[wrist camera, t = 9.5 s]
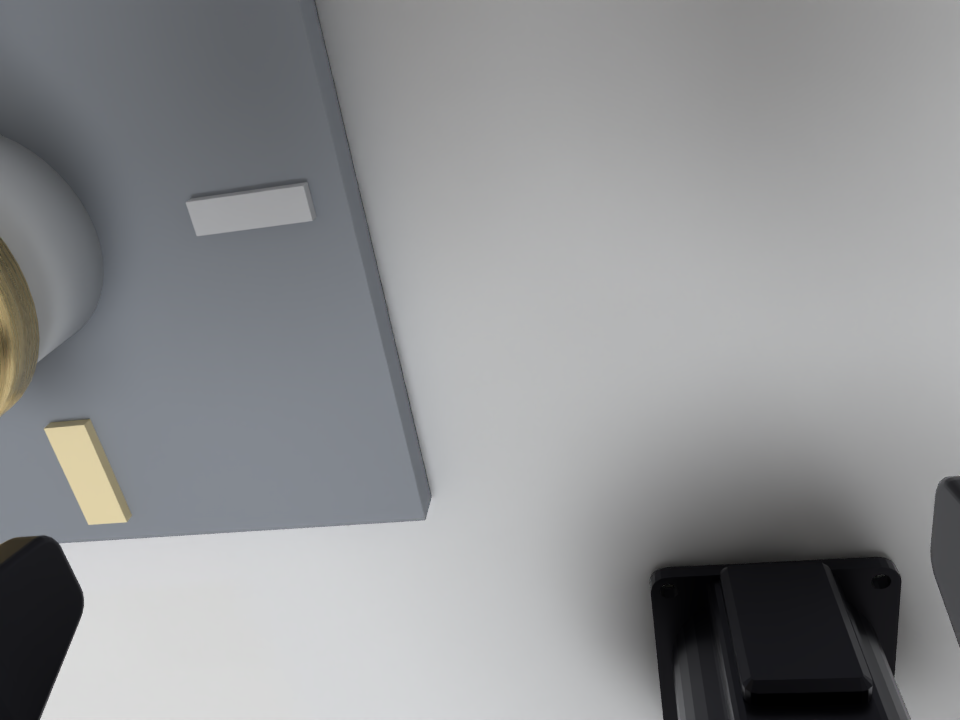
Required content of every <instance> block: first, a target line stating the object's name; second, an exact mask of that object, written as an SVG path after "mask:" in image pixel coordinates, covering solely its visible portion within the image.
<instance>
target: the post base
mask: <svg viewBox="0 0 960 720" xmlns="http://www.w3.org/2000/svg"><path fill="white" fill-rule="evenodd" d="M0 237H1V238H2V240H3V241H4V242H5V244H6V245H7V247H8V248H9V250H10V252H11V253H12V255H13V256H14V258H15V260H16V261H17V263H18V265H19V267H20V269H21V271H22V273H23V275H24V277H25V279H26V282H27V284H28V287H29V289H30V292H31V295H32V298H33V301H34V304H35V309H36V314H37V319H38V326H39V339H40V341H39V355H38V360H37V365H36V369H35V373H34V375H33V377H32V379H31V382H30V384H29V386H28V388H27V389H26V391H25V392H24V394H23V395H22V397H21V398H20V399H19V400H18V401H17V402H16V403H15V404H14V405H13V406H12V407H11V408H10V409H9V410H8V411H7V412H5V413H4V414H3V415H2V416H1V417H0V544H2V543H4V542H5V541H7V540H10V539H12V538H16V537H25V536H41V535H45V536H49V537H52V538H53V539H55V540H56V541H57V542H58V543H71V542H87V541H103V540H119V539H134V538H150V537H166V536H182V535H198V534H214V533H230V532H245V531H261V530H277V529H293V528H309V527H325V526H340V525H356V524H372V523H388V522H404V521H420V520H425V519H426V515H427V512H428V508H429V505H430V501H431V494H430V489H429V485H428V481H427V477H426V473H425V468H424V464H423V460H422V456H421V451H420V447H419V443H418V439H417V434H416V430H415V426H414V422H413V417H412V413H411V409H410V405H409V400H408V396H407V392H406V388H405V383H404V379H403V375H402V371H401V366H400V362H399V358H398V354H397V349H396V345H395V341H394V337H393V333H392V328H391V324H390V320H389V316H388V311H387V307H386V303H385V299H384V294H383V290H382V286H381V282H380V277H379V273H378V269H377V265H376V260H375V256H374V252H373V248H372V243H371V239H370V235H369V231H368V226H367V222H366V218H365V214H364V210H363V205H362V201H361V197H360V193H359V188H358V184H357V180H356V176H355V171H354V167H353V163H352V159H351V154H350V150H349V146H348V142H347V137H346V133H345V129H344V125H343V120H342V116H341V112H340V108H339V103H338V99H337V95H336V91H335V86H334V82H333V78H332V74H331V70H330V65H329V61H328V57H327V53H326V48H325V44H324V40H323V36H322V31H321V27H320V23H319V19H318V14H317V10H316V6H315V2H314V0H0Z"/></svg>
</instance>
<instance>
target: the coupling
mask: <svg viewBox="0 0 960 720" xmlns="http://www.w3.org/2000/svg"><path fill="white" fill-rule="evenodd" d="M39 341H40V339H39V326H38V319H37V314H36V309H35V304H34V301H33V298H32V295H31V292H30V289H29V287H28V284H27V282H26V279H25V277H24V275H23V273H22V271H21V269H20V267H19V265H18V263H17V261H16V260H15V258H14V256H13V255H12V253H11V252H10V250H9V248H8V247H7V245H6V244H5V242H4V241H3V240H2V238H1V237H0V417H1V416H2V415H3V414H4V413H5V412H7V411H8V410H9V409H10V408H11V407H12V406H13V405H14V404H15V403H16V402H17V401H18V400H19V399H20V398H21V397H22V395H23V394H24V392H25V391H26V389H27V388H28V386H29V384H30V382H31V379H32V377H33V375H34V373H35V369H36V365H37V360H38V355H39Z"/></svg>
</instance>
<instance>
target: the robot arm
mask: <svg viewBox="0 0 960 720" xmlns="http://www.w3.org/2000/svg"><path fill="white" fill-rule="evenodd" d="M931 562H932V568H933V572H934V575H935V579H936V581H937V584H938V587H939V590H940V593H941V596H942V598H943V601H944V604H945V607H946V610H947V613H948V615H949V618H950V621H951V624H952V627H953V630H954V632H955V635H956V638H957V641H958V644H959V646H960V476H953V477H945V478H944V479H943V480H941V481H940V482H939V484H938V487H937V489H936V494H935V505H934V516H933V527H932V538H931ZM880 574H883V575H884V576H883V577H882V578H878V579H873V578H874V577H875V576H876V575H880ZM667 584H671V585H674V587H672V588H664V587H662V586H664V585H667ZM650 589H651V599H652V609H653V619H654V629H655V639H656V649H657V659H658V669H659V679H660V689H661V699H662V709H663V719H664V720H911V718H910V715H909V713H908V711H907V708H906V706H905V703H904V701H903V698H902V696H901V693H900V691H899V688H898V686H897V684H896V681H895V679H894V675H895V661H896V647H897V633H898V619H899V605H900V592H901V577H900V574H899V572H898V570H897V568H896V566H895V564H894V563H893V562H892V561H891V560H889V559H887V558H882V557H867V558H847V559H827V560H807V561H787V562H767V563H747V564H727V565H707V566H687V567H667V568H662V569H659V570H657V571H655V572H654V573H653V575H652V576H651V578H650ZM83 608H84V597H83V592H82V589H81V587H80V585H79V583H78V581H77V579H76V577H75V575H74V573H73V571H72V569H71V566H70V564H69V562H68V560H67V558H66V556H65V554H64V552H63V550H62V548H61V546H60V545H59V543H58V542H57V541H56V540H55V539H53V538H52V537H49V536H45V535H41V536H25V537H16V538H12V539H10V540H7V541H5V542H4V543H2V544H0V720H40V718H41V716H42V713H43V711H44V708H45V706H46V703H47V701H48V698H49V696H50V693H51V691H52V688H53V686H54V683H55V681H56V678H57V676H58V673H59V671H60V669H61V666H62V664H63V661H64V659H65V656H66V654H67V651H68V649H69V646H70V644H71V641H72V639H73V636H74V634H75V631H76V629H77V626H78V624H79V621H80V619H81V616H82V613H83Z"/></svg>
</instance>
